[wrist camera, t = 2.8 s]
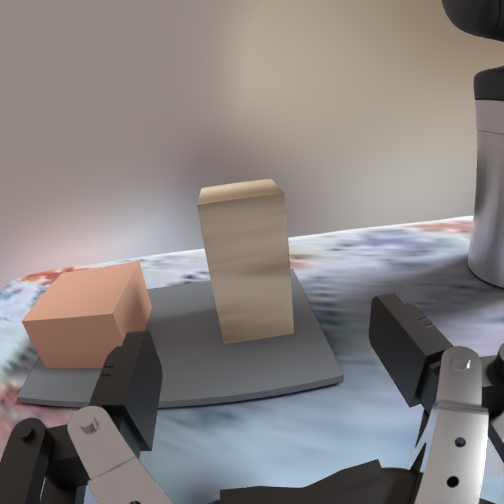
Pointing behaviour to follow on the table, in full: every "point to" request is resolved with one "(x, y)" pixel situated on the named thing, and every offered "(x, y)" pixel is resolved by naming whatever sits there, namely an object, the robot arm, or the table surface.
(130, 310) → the base block
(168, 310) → the build mat
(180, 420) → the table surface
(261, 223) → the pillar
